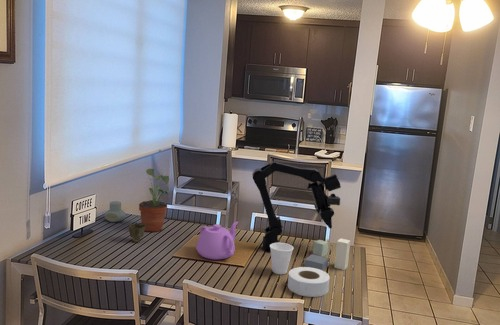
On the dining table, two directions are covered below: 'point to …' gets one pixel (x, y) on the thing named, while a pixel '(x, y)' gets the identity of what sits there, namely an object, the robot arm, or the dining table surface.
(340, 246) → the cream block
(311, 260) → the base block
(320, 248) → the sage block
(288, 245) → the cup
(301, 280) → the roll of tape
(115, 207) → the air freshener
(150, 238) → the dining table surface
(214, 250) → the teapot
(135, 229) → the cup
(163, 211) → the potted plant
